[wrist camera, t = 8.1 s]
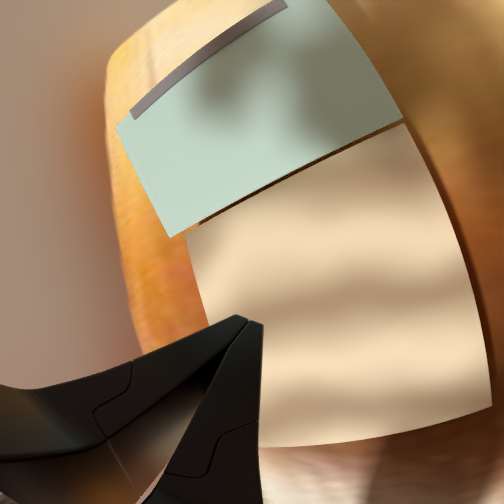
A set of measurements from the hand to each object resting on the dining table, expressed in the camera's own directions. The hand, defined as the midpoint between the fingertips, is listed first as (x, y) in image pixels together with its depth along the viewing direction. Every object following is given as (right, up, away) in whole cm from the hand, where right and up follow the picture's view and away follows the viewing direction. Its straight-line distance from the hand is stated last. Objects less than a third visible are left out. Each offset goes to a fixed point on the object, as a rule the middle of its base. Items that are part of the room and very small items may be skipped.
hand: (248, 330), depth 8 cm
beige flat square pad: (+5, -1, +9) cm, 11 cm away
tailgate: (+1, +6, +9) cm, 11 cm away
